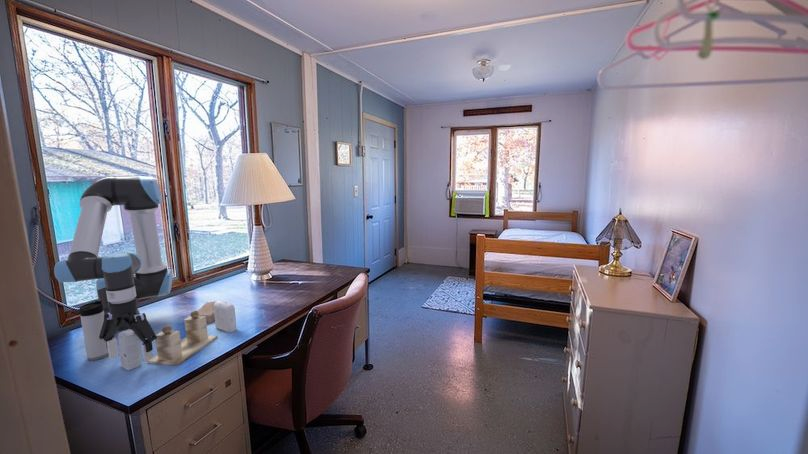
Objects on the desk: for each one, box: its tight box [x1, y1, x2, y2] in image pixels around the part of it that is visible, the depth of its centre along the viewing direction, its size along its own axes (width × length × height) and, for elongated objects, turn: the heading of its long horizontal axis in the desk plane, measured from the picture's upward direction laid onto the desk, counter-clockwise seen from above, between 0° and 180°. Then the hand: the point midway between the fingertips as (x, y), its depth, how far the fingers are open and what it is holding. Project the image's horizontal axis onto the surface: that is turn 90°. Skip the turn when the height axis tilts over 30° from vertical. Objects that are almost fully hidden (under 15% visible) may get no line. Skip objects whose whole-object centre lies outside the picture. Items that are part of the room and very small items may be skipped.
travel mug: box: [78, 300, 109, 361], centre depth 123 cm, size 6×7×20 cm
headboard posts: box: [146, 310, 218, 366], centre depth 127 cm, size 12×20×13 cm, turn 171°
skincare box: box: [117, 328, 142, 371], centre depth 117 cm, size 6×4×12 cm
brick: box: [197, 300, 218, 325], centre depth 158 cm, size 17×8×5 cm, turn 8°
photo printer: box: [214, 300, 237, 333], centre depth 144 cm, size 10×4×12 cm, turn 60°
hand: (131, 358), depth 117 cm, fingers open, 13 cm apart
